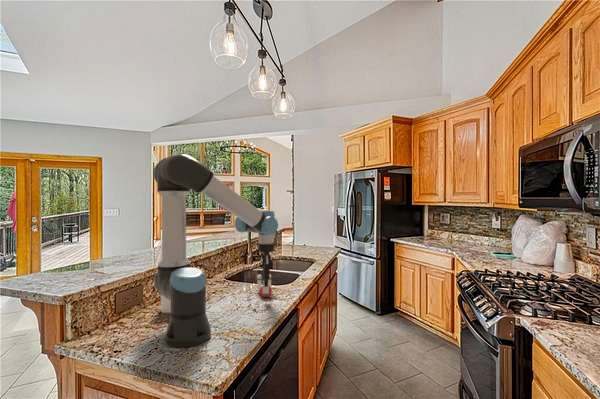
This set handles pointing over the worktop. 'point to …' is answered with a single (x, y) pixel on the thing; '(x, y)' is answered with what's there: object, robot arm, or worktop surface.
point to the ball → (265, 293)
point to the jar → (165, 305)
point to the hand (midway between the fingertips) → (265, 292)
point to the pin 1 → (258, 283)
